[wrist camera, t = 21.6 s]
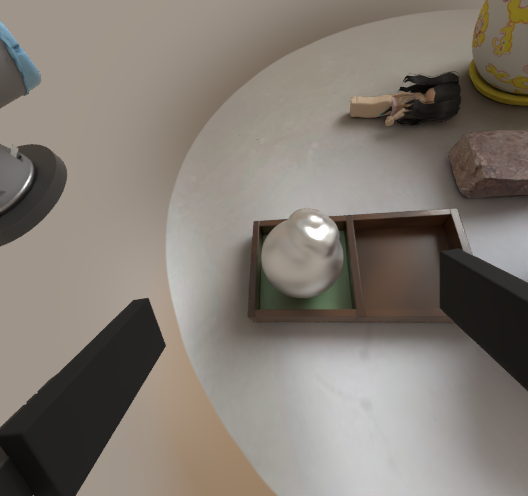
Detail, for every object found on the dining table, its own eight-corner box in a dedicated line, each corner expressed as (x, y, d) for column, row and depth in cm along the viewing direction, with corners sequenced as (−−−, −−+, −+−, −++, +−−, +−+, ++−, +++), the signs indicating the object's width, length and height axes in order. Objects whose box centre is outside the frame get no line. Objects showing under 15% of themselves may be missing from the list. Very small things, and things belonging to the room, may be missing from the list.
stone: (571, 199, 32) (607, 172, 28) (459, 206, 35) (478, 182, 30) (541, 144, 36) (569, 113, 32) (442, 153, 38) (457, 126, 34)
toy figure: (352, 139, 43) (460, 125, 39) (355, 100, 38) (479, 80, 34) (349, 114, 47) (447, 99, 43) (351, 75, 42) (462, 55, 38)
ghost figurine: (359, 283, 31) (376, 245, 23) (287, 320, 31) (275, 295, 22) (320, 226, 36) (321, 175, 27) (256, 257, 35) (236, 216, 27)
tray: (253, 322, 33) (247, 316, 30) (258, 232, 38) (253, 221, 35) (476, 323, 28) (493, 316, 26) (445, 222, 34) (457, 207, 31)
